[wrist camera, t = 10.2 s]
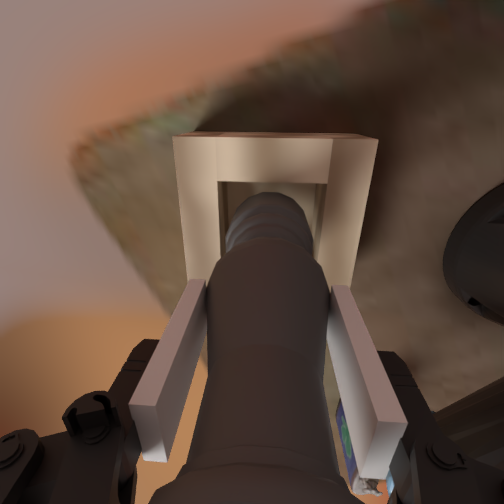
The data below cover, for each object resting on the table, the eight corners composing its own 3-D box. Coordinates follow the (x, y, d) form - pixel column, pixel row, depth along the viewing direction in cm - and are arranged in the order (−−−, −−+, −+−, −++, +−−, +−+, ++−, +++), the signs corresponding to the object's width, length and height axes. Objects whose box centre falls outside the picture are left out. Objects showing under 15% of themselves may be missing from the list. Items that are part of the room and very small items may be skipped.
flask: (350, 423, 41) (373, 517, 32) (330, 419, 41) (347, 513, 32) (371, 379, 37) (405, 472, 27) (348, 375, 37) (375, 468, 27)
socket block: (355, 133, 24) (378, 139, 19) (332, 274, 30) (345, 309, 25) (193, 131, 25) (172, 136, 20) (204, 269, 31) (190, 301, 26)
